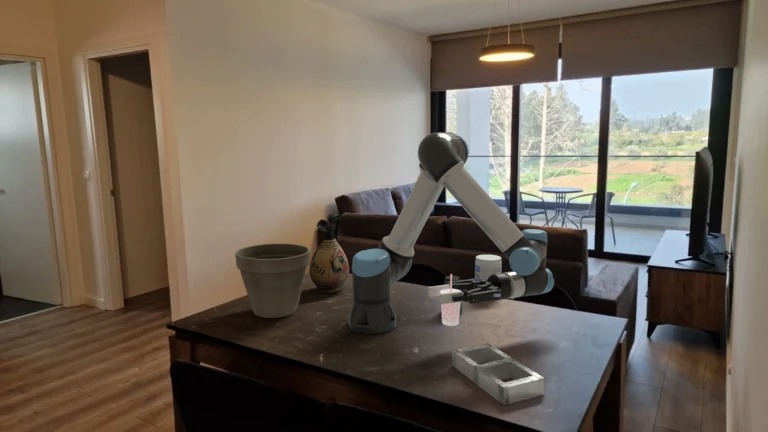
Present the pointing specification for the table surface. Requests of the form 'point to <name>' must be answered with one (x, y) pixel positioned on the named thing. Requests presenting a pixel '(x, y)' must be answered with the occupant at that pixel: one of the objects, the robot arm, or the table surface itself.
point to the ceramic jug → (329, 259)
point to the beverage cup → (450, 308)
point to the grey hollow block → (498, 373)
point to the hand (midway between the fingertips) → (434, 295)
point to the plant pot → (273, 277)
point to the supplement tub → (487, 266)
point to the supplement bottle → (455, 278)
